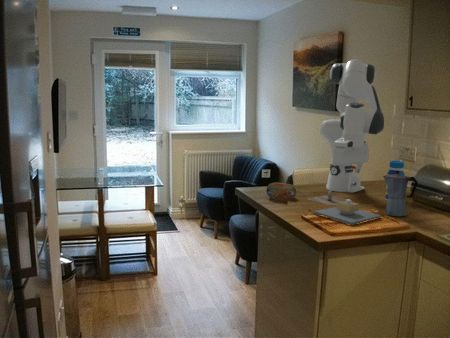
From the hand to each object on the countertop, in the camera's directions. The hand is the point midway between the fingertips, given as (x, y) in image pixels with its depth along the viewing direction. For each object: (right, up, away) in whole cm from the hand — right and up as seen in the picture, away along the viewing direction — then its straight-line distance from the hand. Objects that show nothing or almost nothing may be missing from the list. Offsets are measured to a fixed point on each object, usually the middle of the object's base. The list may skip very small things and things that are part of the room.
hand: (350, 174), depth 189 cm
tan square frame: (0, -16, +3) cm, 16 cm away
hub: (0, -19, +3) cm, 19 cm away
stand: (-3, -15, +26) cm, 30 cm away
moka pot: (+23, -19, +8) cm, 31 cm away
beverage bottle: (+32, -14, +36) cm, 50 cm away
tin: (-26, -13, +31) cm, 43 cm away
